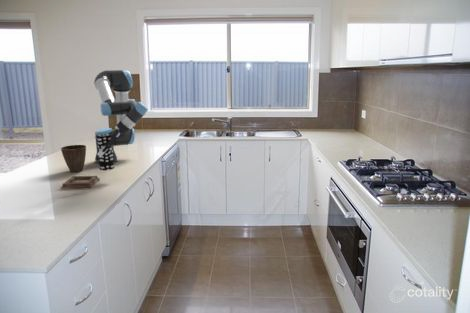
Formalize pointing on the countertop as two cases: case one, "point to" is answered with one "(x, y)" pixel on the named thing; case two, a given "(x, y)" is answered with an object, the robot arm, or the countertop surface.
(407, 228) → the countertop surface
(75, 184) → the walnut board
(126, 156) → the countertop surface
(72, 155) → the plant pot
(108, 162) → the white-spotted black cylinder
